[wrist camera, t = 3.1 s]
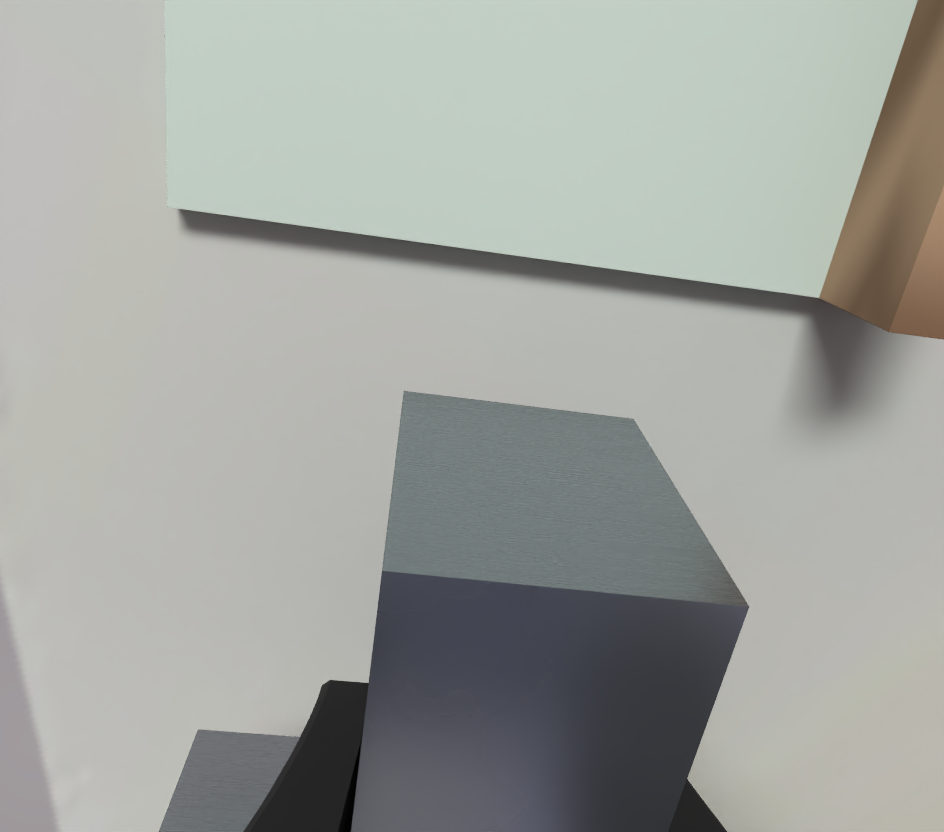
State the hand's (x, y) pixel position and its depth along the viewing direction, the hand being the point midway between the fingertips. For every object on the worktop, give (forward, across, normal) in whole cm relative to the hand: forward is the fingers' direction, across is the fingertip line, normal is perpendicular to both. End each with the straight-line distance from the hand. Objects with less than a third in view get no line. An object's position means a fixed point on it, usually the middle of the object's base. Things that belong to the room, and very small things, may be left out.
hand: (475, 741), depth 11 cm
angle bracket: (+2, +1, 0) cm, 2 cm away
